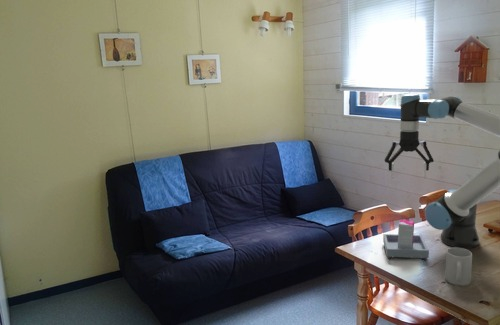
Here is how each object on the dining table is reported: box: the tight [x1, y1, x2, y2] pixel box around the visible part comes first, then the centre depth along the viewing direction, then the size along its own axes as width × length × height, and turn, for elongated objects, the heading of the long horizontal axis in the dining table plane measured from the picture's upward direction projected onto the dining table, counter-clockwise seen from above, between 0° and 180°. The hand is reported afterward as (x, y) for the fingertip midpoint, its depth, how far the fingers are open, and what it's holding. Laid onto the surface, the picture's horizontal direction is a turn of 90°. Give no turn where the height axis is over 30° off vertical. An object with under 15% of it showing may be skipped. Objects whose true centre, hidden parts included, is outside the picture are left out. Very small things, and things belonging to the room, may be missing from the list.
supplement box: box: [397, 219, 415, 249], centre depth 176 cm, size 6×6×12 cm
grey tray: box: [382, 233, 430, 262], centre depth 178 cm, size 16×16×5 cm
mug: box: [444, 246, 473, 286], centre depth 151 cm, size 12×8×11 cm
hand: (408, 177), depth 187 cm, fingers open, 13 cm apart
